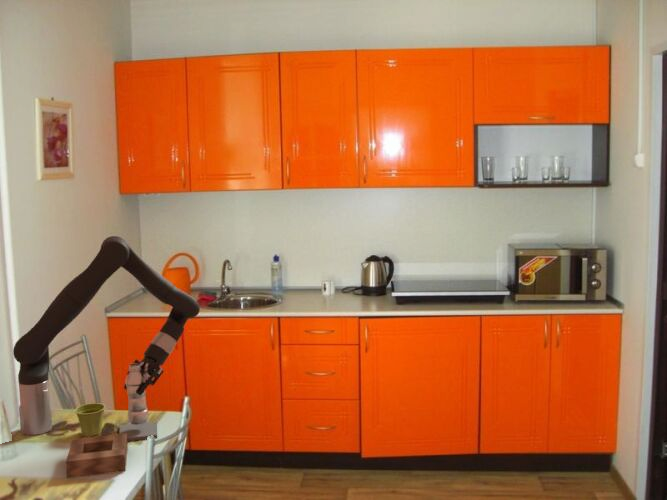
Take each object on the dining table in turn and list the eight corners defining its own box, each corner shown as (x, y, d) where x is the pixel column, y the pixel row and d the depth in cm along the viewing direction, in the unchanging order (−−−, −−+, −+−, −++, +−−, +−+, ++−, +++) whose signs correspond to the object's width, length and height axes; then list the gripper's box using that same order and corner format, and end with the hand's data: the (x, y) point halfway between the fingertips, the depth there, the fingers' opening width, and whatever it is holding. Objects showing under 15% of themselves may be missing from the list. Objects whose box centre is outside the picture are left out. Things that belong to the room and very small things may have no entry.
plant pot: (100, 439, 219) (99, 413, 218) (72, 439, 219) (70, 413, 218) (110, 427, 228) (109, 403, 227) (83, 427, 229) (81, 403, 227)
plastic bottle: (143, 427, 220) (139, 368, 217) (124, 426, 221) (120, 367, 218) (152, 420, 226) (149, 362, 223) (133, 418, 227) (130, 361, 225)
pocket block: (66, 478, 192) (65, 461, 191) (73, 454, 207) (72, 439, 207) (125, 471, 196) (124, 454, 195) (127, 448, 211) (126, 433, 211)
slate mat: (118, 442, 216) (118, 439, 216) (120, 427, 228) (120, 425, 228) (157, 437, 219) (156, 434, 219) (157, 423, 231) (156, 421, 231)
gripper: (140, 339, 230) (112, 381, 223) (166, 346, 221) (137, 390, 214) (154, 350, 235) (127, 392, 228) (180, 358, 226) (152, 402, 218)
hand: (132, 391), depth 221 cm, fingers closed on plastic bottle, 6 cm apart
